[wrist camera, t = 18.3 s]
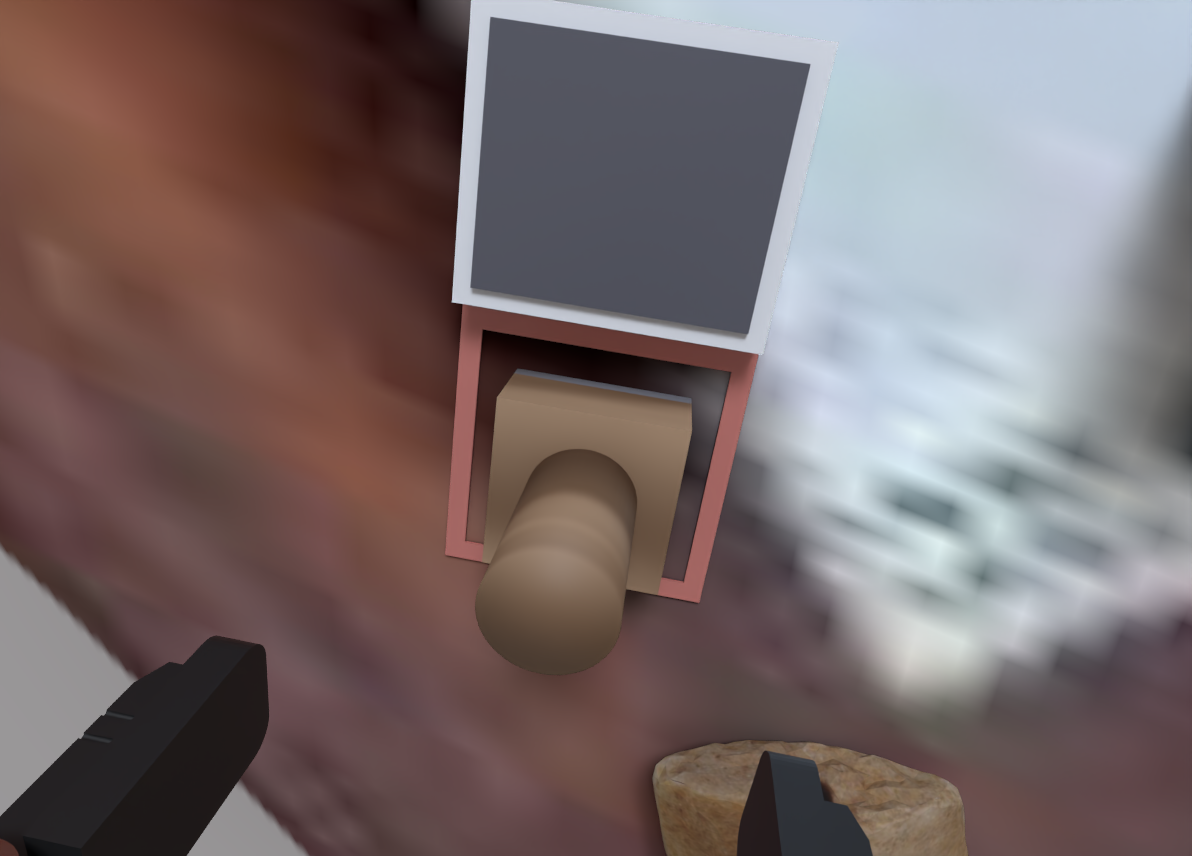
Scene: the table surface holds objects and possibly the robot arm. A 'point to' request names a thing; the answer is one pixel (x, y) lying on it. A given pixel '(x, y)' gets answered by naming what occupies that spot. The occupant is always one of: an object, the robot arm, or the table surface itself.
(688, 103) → the ink pad
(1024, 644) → the table surface
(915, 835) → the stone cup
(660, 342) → the marked square
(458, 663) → the table surface
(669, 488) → the hand stamp
